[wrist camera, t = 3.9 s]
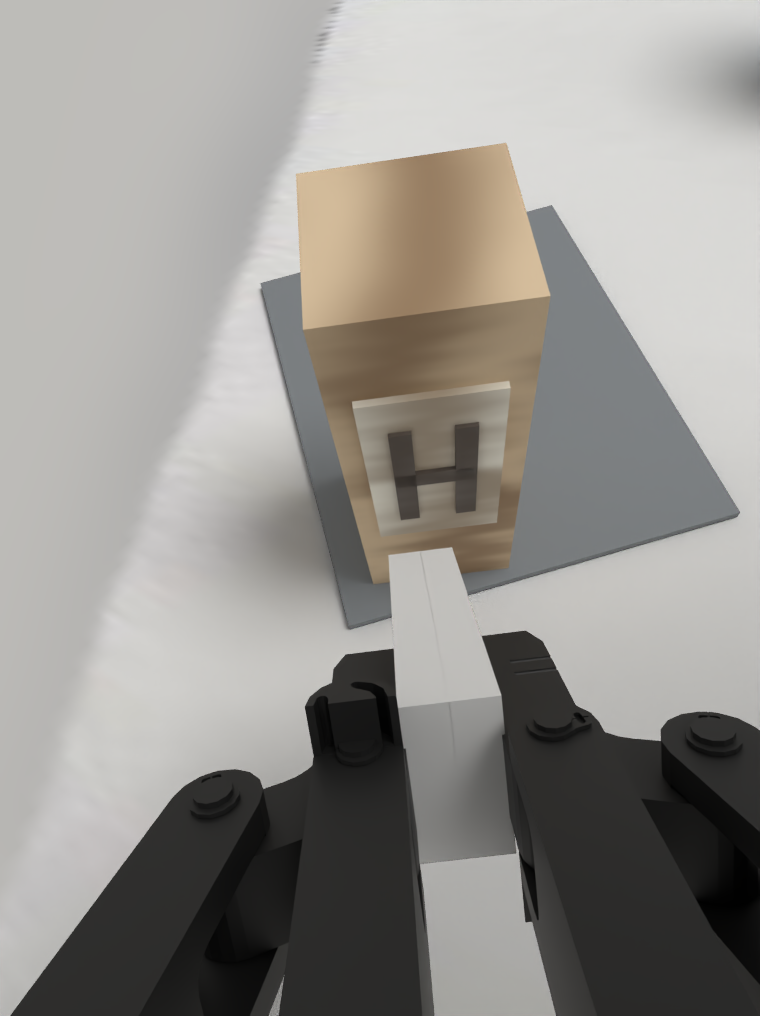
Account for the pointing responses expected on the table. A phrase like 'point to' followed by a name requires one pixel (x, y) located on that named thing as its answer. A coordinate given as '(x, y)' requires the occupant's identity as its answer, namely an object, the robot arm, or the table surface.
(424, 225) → the letter block
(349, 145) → the table surface
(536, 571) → the mat
